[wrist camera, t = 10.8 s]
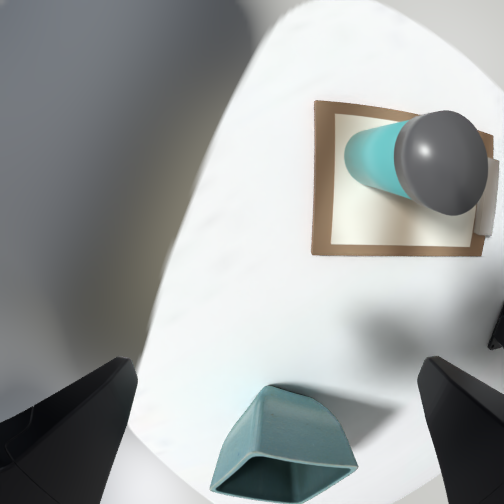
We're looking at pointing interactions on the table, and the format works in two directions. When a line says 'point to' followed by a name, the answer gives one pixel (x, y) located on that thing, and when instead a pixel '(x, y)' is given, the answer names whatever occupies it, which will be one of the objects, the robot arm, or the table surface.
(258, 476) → the flower pot
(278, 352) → the table surface
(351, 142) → the teal capped bottle
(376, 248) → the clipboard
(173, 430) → the table surface
